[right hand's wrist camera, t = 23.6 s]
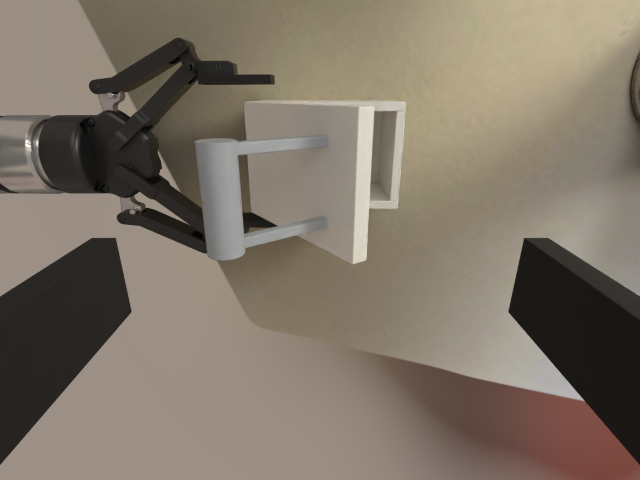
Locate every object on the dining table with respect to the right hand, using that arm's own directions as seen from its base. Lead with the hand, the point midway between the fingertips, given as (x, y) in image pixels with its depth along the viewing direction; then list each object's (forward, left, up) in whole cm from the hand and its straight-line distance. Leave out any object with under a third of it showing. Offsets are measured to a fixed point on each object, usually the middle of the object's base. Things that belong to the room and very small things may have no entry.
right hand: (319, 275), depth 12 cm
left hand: (+1, -4, -26) cm, 27 cm away
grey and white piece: (0, -1, -18) cm, 18 cm away
